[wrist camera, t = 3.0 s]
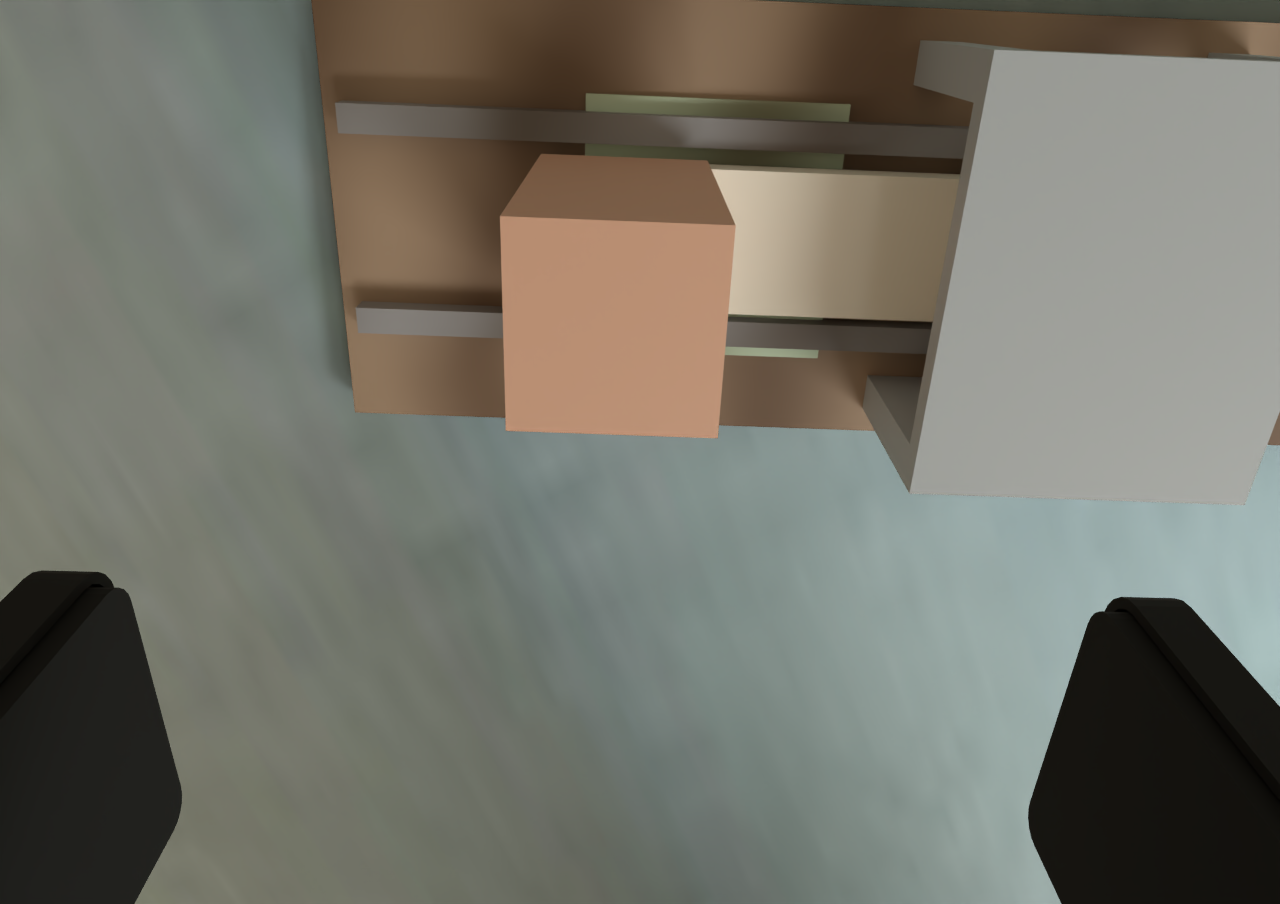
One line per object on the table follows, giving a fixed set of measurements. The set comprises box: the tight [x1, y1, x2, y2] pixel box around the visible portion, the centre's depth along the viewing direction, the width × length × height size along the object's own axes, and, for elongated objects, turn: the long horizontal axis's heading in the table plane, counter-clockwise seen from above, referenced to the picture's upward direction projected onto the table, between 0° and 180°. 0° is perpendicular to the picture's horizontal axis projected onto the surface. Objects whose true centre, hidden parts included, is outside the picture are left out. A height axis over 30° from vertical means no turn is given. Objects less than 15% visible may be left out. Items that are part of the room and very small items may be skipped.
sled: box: [500, 154, 960, 438], centre depth 20 cm, size 19×5×8 cm, turn 88°
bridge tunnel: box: [862, 40, 1280, 505], centre depth 22 cm, size 8×10×5 cm
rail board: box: [311, 0, 1280, 445], centre depth 24 cm, size 31×11×2 cm, turn 88°
